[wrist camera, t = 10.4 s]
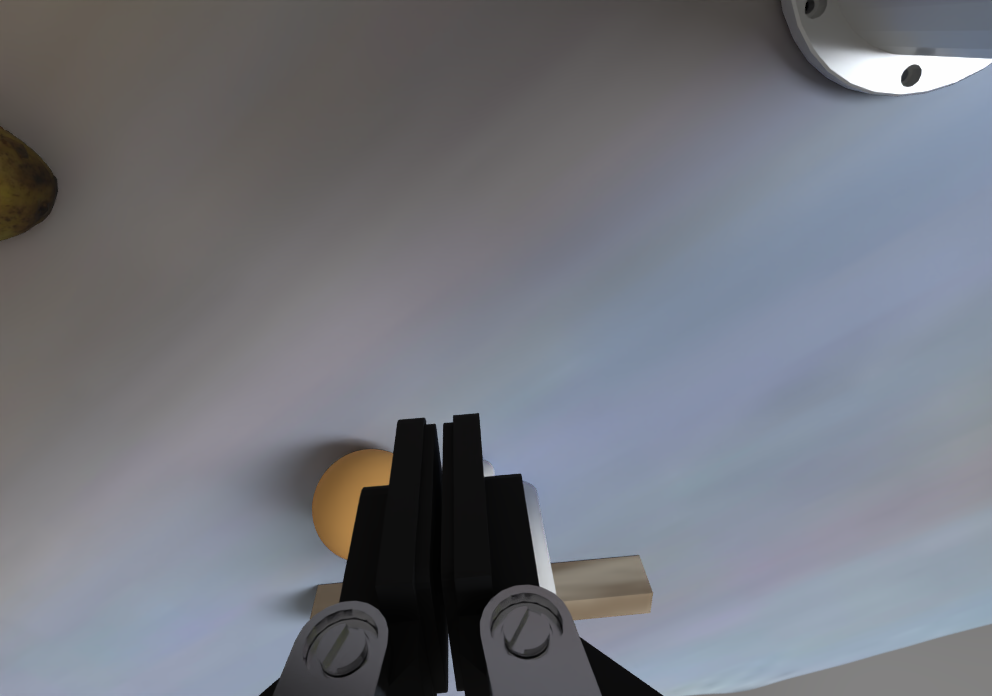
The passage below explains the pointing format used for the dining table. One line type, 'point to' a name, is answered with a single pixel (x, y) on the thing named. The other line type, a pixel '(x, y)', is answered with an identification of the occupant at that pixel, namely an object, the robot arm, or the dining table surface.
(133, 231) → the dining table surface
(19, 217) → the potato
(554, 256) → the dining table surface
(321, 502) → the ball
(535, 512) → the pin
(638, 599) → the bar
